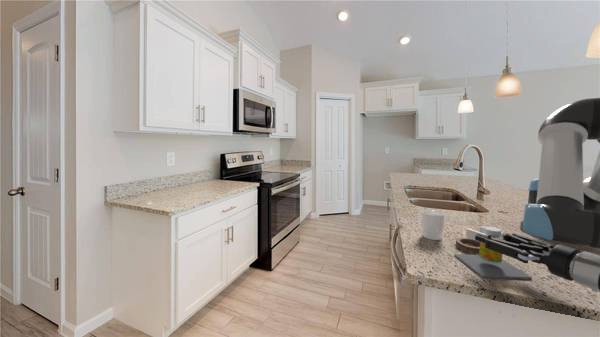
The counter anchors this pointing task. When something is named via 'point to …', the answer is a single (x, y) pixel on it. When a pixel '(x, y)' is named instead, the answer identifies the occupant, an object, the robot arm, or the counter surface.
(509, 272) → the mat
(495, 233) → the supplement bottle
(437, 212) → the white cup
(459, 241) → the collar
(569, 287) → the counter surface
